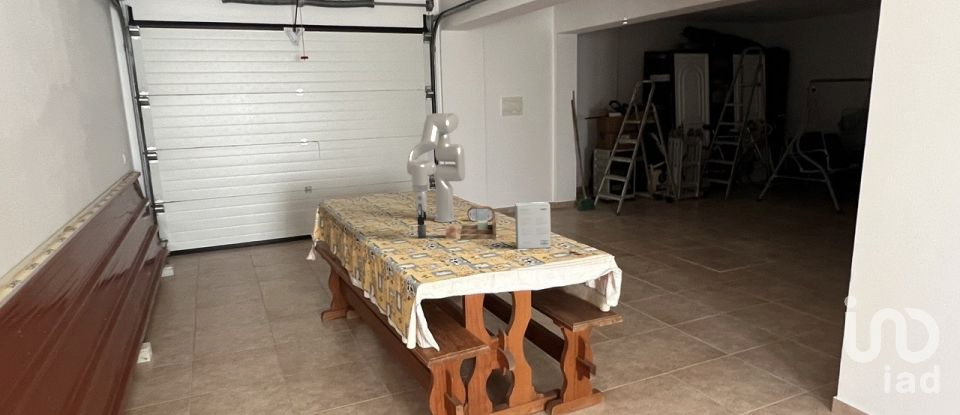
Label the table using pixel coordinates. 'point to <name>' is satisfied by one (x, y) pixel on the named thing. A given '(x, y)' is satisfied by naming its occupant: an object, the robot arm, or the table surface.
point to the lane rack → (479, 231)
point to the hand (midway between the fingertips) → (422, 222)
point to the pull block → (450, 233)
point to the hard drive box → (533, 225)
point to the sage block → (482, 225)
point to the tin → (480, 213)
